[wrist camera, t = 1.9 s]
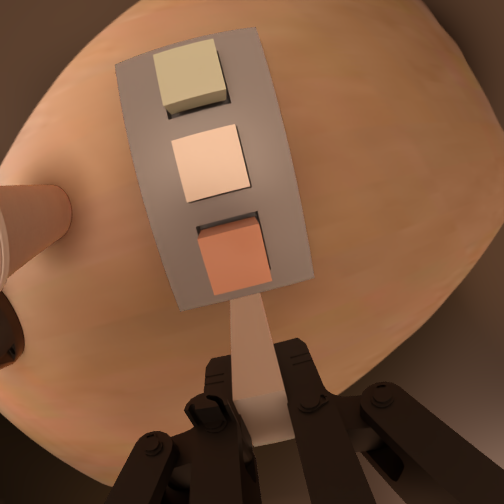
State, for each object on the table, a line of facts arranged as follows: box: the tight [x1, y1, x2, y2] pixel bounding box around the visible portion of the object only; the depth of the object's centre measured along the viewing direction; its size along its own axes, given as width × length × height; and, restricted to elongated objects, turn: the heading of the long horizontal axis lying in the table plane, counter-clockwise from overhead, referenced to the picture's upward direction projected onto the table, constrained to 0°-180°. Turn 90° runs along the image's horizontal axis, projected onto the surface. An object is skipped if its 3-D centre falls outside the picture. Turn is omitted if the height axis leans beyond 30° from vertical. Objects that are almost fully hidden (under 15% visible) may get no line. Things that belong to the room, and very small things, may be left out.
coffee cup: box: [0, 185, 72, 291], centre depth 18 cm, size 10×10×15 cm
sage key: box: [153, 39, 226, 115], centre depth 19 cm, size 5×5×4 cm
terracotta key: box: [197, 216, 272, 295], centre depth 24 cm, size 5×5×4 cm
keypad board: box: [115, 27, 314, 312], centre depth 25 cm, size 14×26×3 cm, turn 13°
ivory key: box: [171, 124, 250, 203], centre depth 22 cm, size 5×5×4 cm
